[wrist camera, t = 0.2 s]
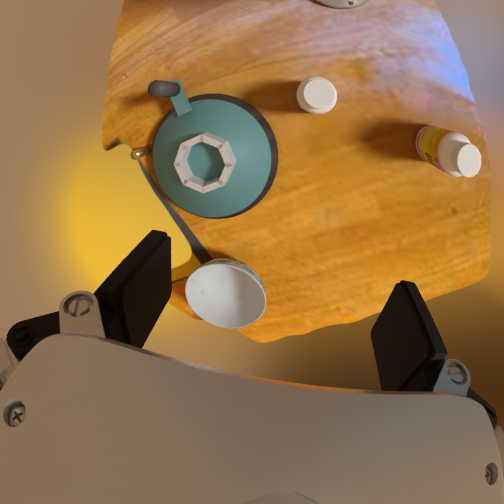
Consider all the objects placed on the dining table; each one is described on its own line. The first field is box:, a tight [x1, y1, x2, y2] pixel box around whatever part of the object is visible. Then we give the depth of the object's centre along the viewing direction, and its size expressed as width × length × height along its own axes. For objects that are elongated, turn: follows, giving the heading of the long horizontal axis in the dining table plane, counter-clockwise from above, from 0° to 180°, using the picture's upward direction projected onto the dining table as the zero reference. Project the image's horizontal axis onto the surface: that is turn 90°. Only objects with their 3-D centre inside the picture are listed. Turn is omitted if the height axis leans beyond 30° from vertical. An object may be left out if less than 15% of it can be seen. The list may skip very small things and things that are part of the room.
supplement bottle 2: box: [415, 126, 481, 177], centre depth 31 cm, size 7×7×13 cm
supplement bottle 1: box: [296, 77, 337, 114], centre depth 33 cm, size 5×5×10 cm
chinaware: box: [185, 258, 266, 328], centre depth 53 cm, size 15×15×8 cm
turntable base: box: [131, 94, 278, 219], centre depth 42 cm, size 22×23×5 cm
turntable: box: [148, 79, 272, 217], centre depth 38 cm, size 24×20×9 cm
